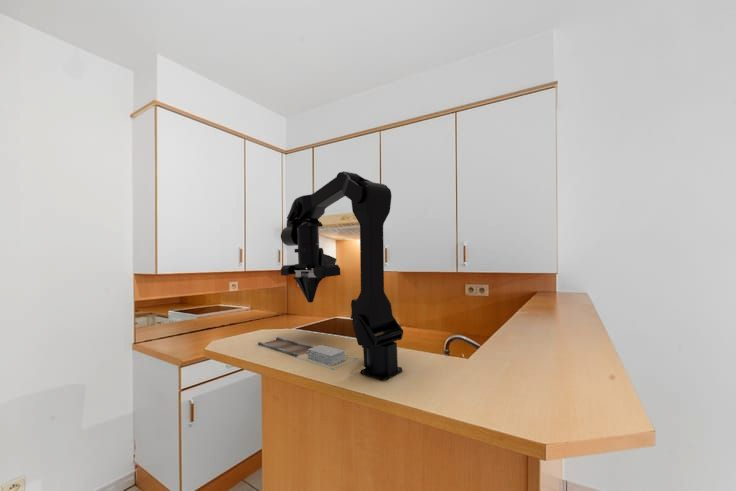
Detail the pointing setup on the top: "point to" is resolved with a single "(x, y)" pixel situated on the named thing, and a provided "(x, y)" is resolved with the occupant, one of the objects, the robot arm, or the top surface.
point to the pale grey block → (316, 352)
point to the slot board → (286, 346)
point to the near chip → (332, 356)
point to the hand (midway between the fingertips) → (310, 302)
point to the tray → (329, 367)
